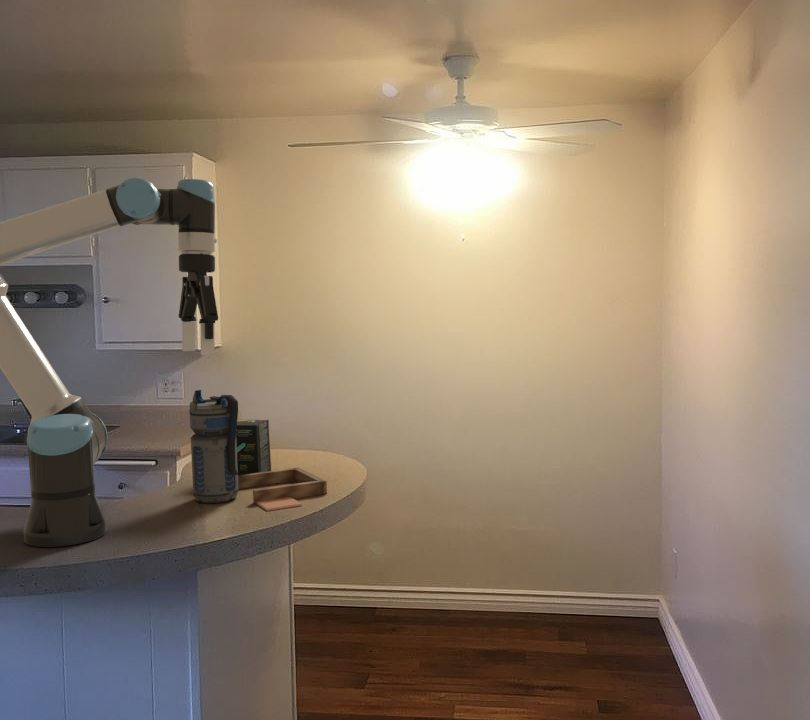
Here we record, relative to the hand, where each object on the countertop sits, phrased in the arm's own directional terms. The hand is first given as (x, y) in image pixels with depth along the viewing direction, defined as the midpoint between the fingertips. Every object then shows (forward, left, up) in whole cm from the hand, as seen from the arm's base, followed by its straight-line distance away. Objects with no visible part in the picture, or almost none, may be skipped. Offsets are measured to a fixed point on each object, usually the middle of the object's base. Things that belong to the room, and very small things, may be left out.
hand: (197, 353), depth 178 cm
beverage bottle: (+5, +7, -35) cm, 36 cm away
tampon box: (+17, +25, -35) cm, 46 cm away
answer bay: (+19, +7, -34) cm, 40 cm away
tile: (+15, -5, -34) cm, 38 cm away
